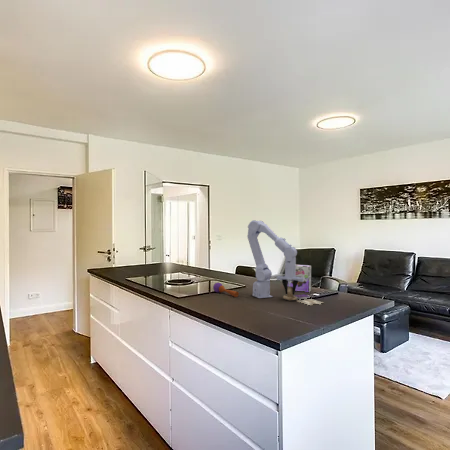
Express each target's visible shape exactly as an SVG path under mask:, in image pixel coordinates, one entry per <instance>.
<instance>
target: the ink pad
mask: <svg viewBox="0 0 450 450" xmlns="http://www.w3.org/2000/svg"><path fill="white" fill-rule="evenodd" d="M293 296H296V300H298V299H299V300H301V299H304V300H305V299H307V298H310V297H311V298H312V296H310V295H308V294H294V295H293Z"/></svg>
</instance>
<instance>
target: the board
mask: <svg viewBox="0 0 450 450" xmlns="http://www.w3.org/2000/svg"><path fill="white" fill-rule="evenodd" d="M296 302H297V303H300V302H301V303H300V304H302V303H304V304H303V305H305V304H307V305H306V306H308V305H310V306H314V305H313V304H319V305H322V304H321V303H324V302H323V301H320V300H316V299H312V298H311V299H304V300H298V299H296Z"/></svg>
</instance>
